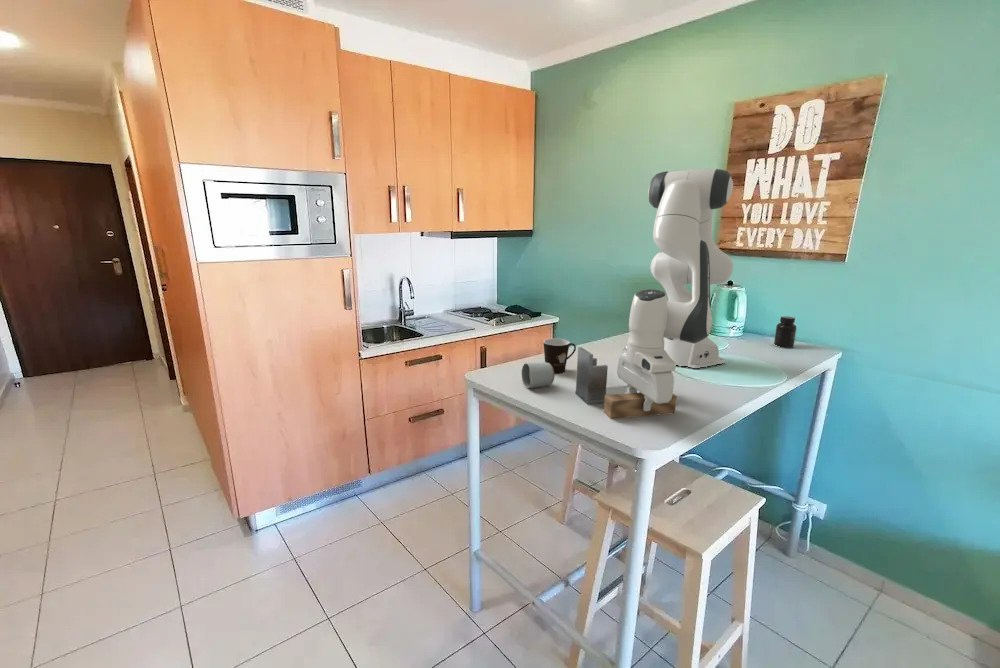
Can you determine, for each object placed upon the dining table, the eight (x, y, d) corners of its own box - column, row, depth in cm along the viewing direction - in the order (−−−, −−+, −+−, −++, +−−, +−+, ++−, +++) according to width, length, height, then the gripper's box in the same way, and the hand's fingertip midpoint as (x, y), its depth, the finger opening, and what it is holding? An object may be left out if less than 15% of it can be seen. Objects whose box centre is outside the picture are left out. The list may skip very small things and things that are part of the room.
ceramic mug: (555, 388, 129) (556, 364, 127) (530, 392, 126) (531, 366, 124) (540, 377, 138) (540, 354, 136) (516, 380, 135) (516, 357, 134)
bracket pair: (643, 387, 130) (647, 342, 126) (658, 397, 122) (663, 350, 119) (575, 393, 125) (577, 347, 121) (587, 404, 117) (590, 355, 114)
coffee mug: (544, 375, 140) (545, 345, 138) (540, 366, 148) (541, 338, 146) (579, 374, 140) (581, 345, 138) (574, 366, 149) (575, 338, 146)
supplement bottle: (787, 344, 178) (792, 315, 175) (796, 348, 171) (802, 319, 168) (770, 343, 179) (774, 315, 176) (778, 348, 172) (783, 319, 169)
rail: (666, 407, 116) (667, 390, 115) (674, 413, 112) (676, 396, 111) (603, 412, 113) (604, 395, 111) (610, 419, 109) (611, 401, 108)
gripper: (613, 344, 117) (609, 392, 121) (656, 368, 98) (651, 424, 102) (633, 343, 119) (629, 390, 122) (680, 366, 100) (674, 421, 103)
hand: (639, 405), depth 112 cm, fingers closed on rail, 4 cm apart
